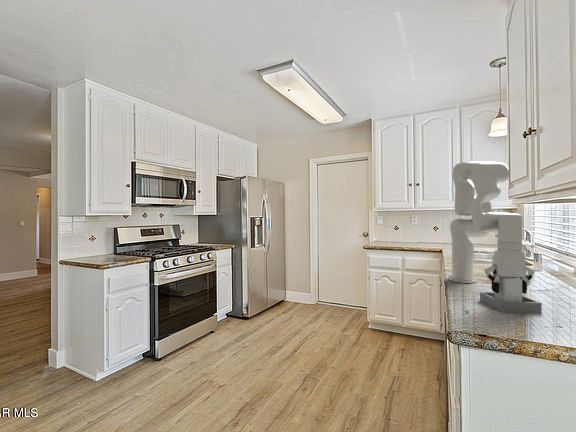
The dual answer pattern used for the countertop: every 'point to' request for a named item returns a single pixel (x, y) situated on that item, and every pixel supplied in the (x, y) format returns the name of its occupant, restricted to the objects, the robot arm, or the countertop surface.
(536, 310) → the tray
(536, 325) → the countertop surface
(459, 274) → the robot arm
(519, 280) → the small box
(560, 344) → the countertop surface
